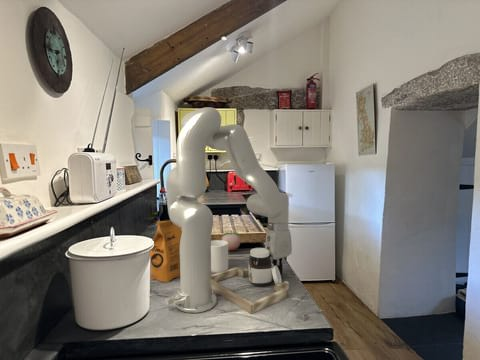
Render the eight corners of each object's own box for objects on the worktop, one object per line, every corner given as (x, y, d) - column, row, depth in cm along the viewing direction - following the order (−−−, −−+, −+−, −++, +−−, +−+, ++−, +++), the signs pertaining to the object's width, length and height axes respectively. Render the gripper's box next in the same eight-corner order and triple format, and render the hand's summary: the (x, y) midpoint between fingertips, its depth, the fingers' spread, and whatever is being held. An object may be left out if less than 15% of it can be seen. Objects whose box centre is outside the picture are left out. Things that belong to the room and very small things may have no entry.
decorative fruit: (223, 254, 133) (223, 233, 132) (220, 249, 141) (220, 229, 140) (243, 253, 135) (242, 232, 135) (239, 247, 143) (238, 228, 143)
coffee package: (146, 279, 107) (144, 221, 105) (169, 267, 118) (167, 215, 116) (166, 284, 103) (164, 224, 101) (188, 272, 113) (187, 217, 112)
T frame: (250, 314, 83) (250, 305, 83) (204, 284, 103) (204, 277, 102) (296, 292, 96) (296, 285, 95) (247, 269, 115) (247, 263, 115)
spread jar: (246, 277, 108) (246, 247, 107) (275, 274, 111) (275, 245, 110) (254, 292, 97) (254, 258, 96) (286, 288, 99) (286, 255, 98)
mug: (235, 263, 122) (234, 239, 121) (222, 274, 111) (222, 247, 110) (217, 261, 125) (216, 237, 125) (203, 271, 114) (202, 244, 113)
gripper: (271, 231, 99) (270, 283, 100) (299, 225, 108) (298, 272, 110) (256, 227, 105) (256, 276, 106) (284, 221, 114) (283, 266, 116)
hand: (277, 274), depth 108 cm, fingers closed
